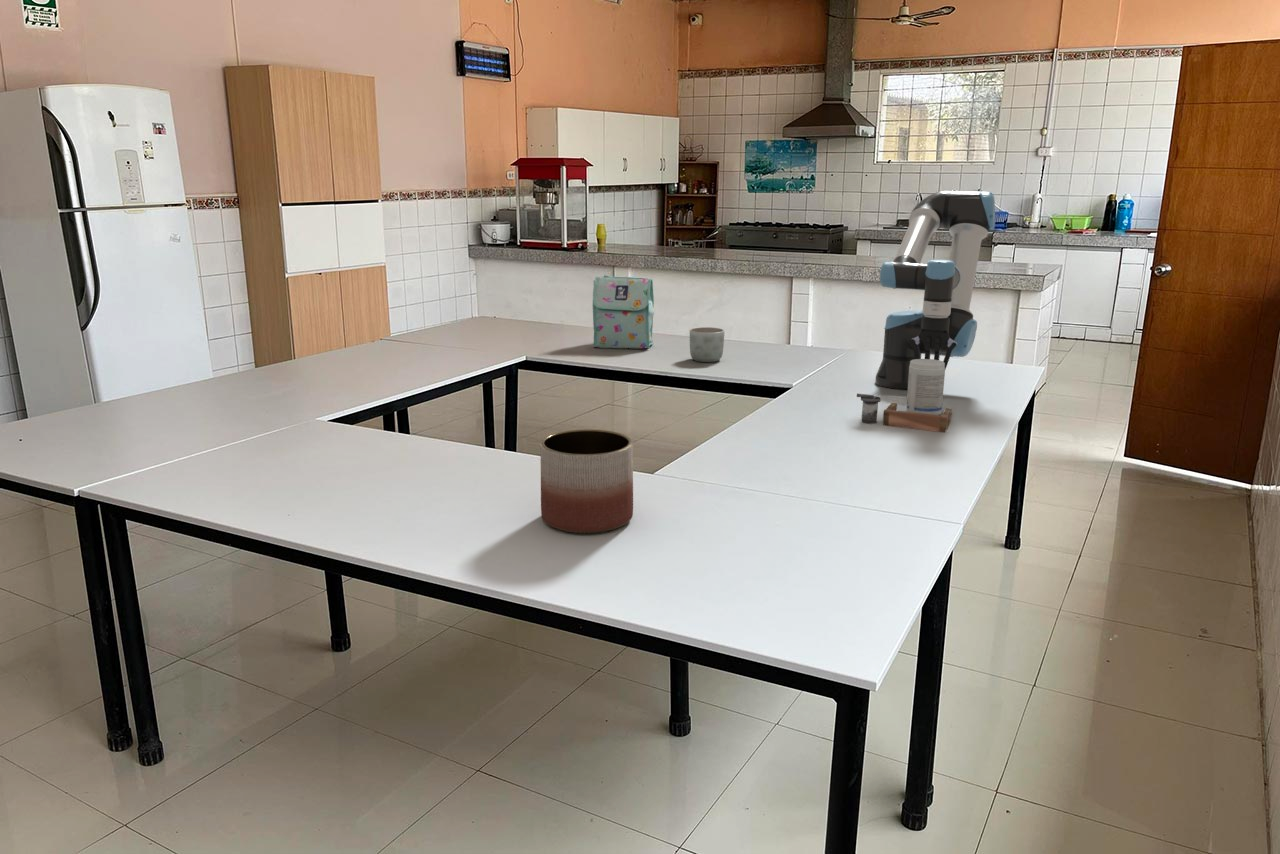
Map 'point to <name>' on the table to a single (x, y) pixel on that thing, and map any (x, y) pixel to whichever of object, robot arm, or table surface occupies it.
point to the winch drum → (869, 408)
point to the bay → (916, 419)
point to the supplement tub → (925, 386)
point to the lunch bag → (623, 312)
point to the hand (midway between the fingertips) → (928, 397)
